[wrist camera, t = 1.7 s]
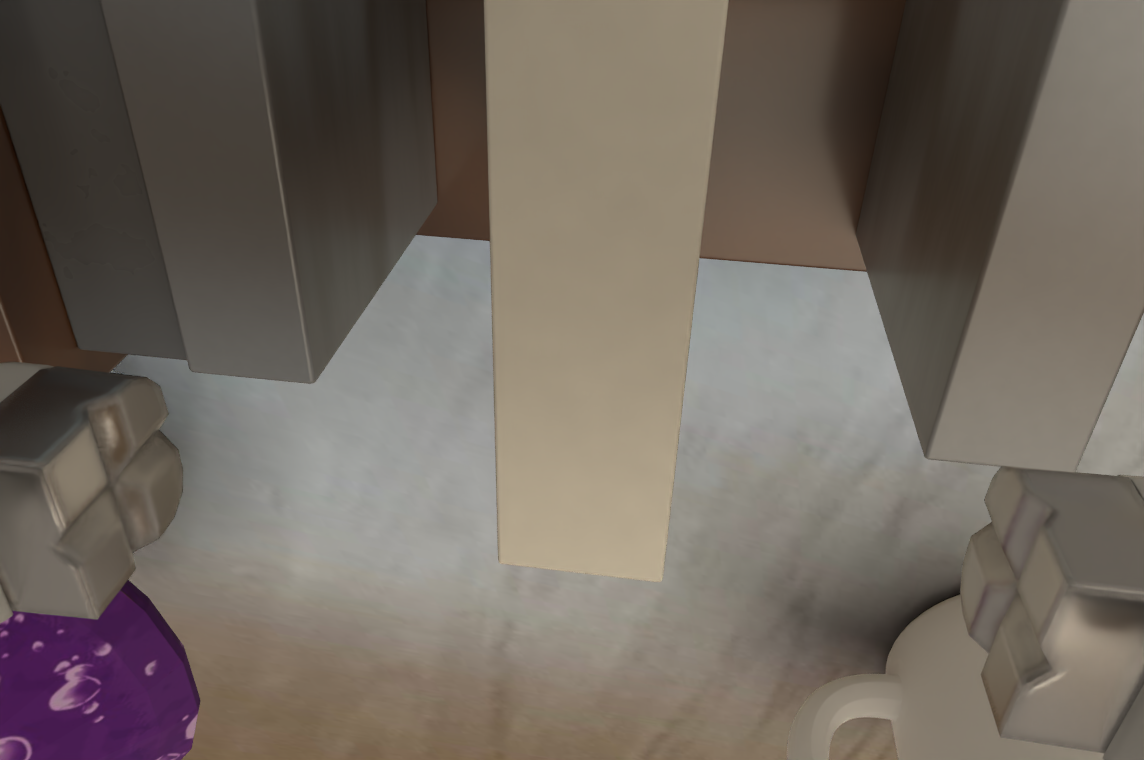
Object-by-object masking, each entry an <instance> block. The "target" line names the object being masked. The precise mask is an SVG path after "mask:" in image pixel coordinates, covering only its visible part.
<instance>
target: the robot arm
mask: <svg viewBox="0 0 1144 760" xmlns="http://www.w3.org/2000/svg"><path fill="white" fill-rule="evenodd" d="M168 414H169V413H168V410H167V406H166V403H165V400H164V397H163V393H162V390H161V387H160V386H159V385H158V384H156V383H155V382H153V381H152V380H150V379H149V378H147V377H140V376H132V375H124V374H116V373H108V372H100V371H92V370H84V369H76V368H68V367H60V366H56V367H53V366H49V365H42V364H32V363H22V362H4V363H0V623H2V622H4V621H5V620H7V619H8V618H10V617H11V616H13V612H12V611H19V612H29V613H38V614H48V615H58V616H68V617H78V618H88V619H98V618H99V617H100V616H101V614H102V613H103V612H104V610H105V609H106V608H107V606H108V605H109V604H110V602H111V601H112V600H113V599H114V597H115V596H116V595H117V593H118V592H119V591H120V589H121V588H122V587H123V586H124V584H125V583H126V582H127V580H128V579H129V578H130V576H131V575H132V574H133V573H134V571H135V570H136V568H135V562H134V555H133V552H134V551H136V550H138V549H140V548H142V547H144V546H146V545H147V544H149V543H151V542H153V541H155V540H157V539H159V538H160V537H161V536H162V534H163V533H164V531H165V530H166V529H167V527H168V526H169V524H170V523H171V522H172V520H173V519H174V517H175V514H176V511H177V508H178V504H179V501H180V498H181V495H182V492H183V468H182V463H181V459H180V455H179V451H178V449H177V448H176V447H175V446H174V445H173V444H172V443H171V442H170V441H169V440H168V439H167V438H166V436H165V435H164V434H163V433H162V432H161V431H160V430H159V429H160V428H161V426H162V424H163V423H164V421H165V419H166V418H167V416H168ZM984 501H985V504H986V507H987V509H988V512H989V515H990V517H991V520H992V522H991V523H990V524H988V525H987V526H985V527H984V528H982V529H981V530H979V531H978V532H977V533H975V534H974V535H972V536H971V538H970V541H969V544H968V547H967V551H966V554H965V557H964V560H963V563H962V574H961V586H960V596H961V604H962V613H963V617H964V620H965V624H966V627H967V631H968V635H969V636H970V637H971V638H972V639H973V640H974V641H976V642H977V643H978V644H979V645H980V646H981V647H982V648H983V649H984V650H985V651H986V652H988V653H989V654H988V657H987V659H986V662H985V664H984V667H983V670H982V672H981V678H982V681H983V684H984V687H985V690H986V694H987V697H988V700H989V703H990V706H991V710H992V713H993V716H994V719H995V722H996V726H997V729H998V732H999V735H1000V737H1002V738H1008V739H1015V740H1021V741H1028V742H1034V743H1040V744H1047V745H1053V746H1060V747H1066V748H1072V749H1079V750H1085V751H1092V752H1098V753H1104V755H1103V757H1102V758H1103V759H1104V760H1144V477H1142V476H1128V475H1118V476H1110V475H1099V474H1089V473H1078V472H1067V471H1056V470H1045V469H1034V468H1023V467H1012V466H1001V467H1000V469H999V470H998V471H997V473H996V474H995V475H994V477H993V478H992V480H991V483H990V485H989V488H988V491H987V493H986V496H985V499H984Z"/></svg>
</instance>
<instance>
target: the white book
mask: <svg viewBox="0 0 1144 760" xmlns="http://www.w3.org/2000/svg"><path fill="white" fill-rule="evenodd" d="M728 2H729V0H484V26H485V65H486V104H487V143H488V182H489V221H490V260H491V299H492V338H493V377H494V416H495V455H496V494H497V533H498V560H499V563H501V564H508V565H517V566H525V567H534V568H542V569H551V570H559V571H568V572H577V573H585V574H594V575H602V576H611V577H619V578H628V579H636V580H645V581H653V582H661V581H662V579H663V572H664V563H665V555H666V546H667V537H668V528H669V520H670V511H671V502H672V493H673V485H674V476H675V467H676V458H677V450H678V441H679V432H680V423H681V414H682V406H683V397H684V388H685V379H686V371H687V362H688V353H689V344H690V336H691V327H692V318H693V309H694V300H695V292H696V283H697V274H698V265H699V257H700V248H701V239H702V230H703V222H704V213H705V204H706V195H707V186H708V178H709V169H710V160H711V151H712V143H713V134H714V125H715V116H716V108H717V99H718V90H719V81H720V73H721V64H722V55H723V46H724V37H725V29H726V20H727V11H728Z"/></svg>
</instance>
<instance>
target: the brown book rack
mask: <svg viewBox="0 0 1144 760" xmlns="http://www.w3.org/2000/svg"><path fill="white" fill-rule="evenodd" d="M415 235H425V236H437V237H450V238H462V239H474V240H486V241H490V221H489V182H488V143H487V104H486V65H485V26H484V0H0V363H4V362H22V363H32V364H42V365H49V366H53V367H56V366H60V367H68V368H76V369H84V370H92V371H100V372H108V373H109V372H110V371H112V370H113V369H114V368H115V367H116V366H117V365H118V364H119V363H120V362H121V361H122V360H123V359H124V358H125V357H126V356H127V355H128V354H131V355H141V356H151V357H162V358H172V359H182V360H187V361H188V365H189V369H190V370H191V371H192V372H198V373H208V374H218V375H228V376H238V377H248V378H258V379H268V380H278V381H288V382H298V383H308V384H311V383H314V382H316V380H317V379H318V377H319V376H320V374H321V373H322V371H323V370H324V369H325V367H326V366H327V364H328V363H329V361H330V360H331V358H332V357H333V355H334V354H335V352H336V351H337V349H338V348H339V347H340V345H341V344H342V342H343V341H344V339H345V338H346V336H347V335H348V333H349V332H350V330H351V329H352V327H353V326H354V325H355V323H356V322H357V320H358V319H359V317H360V316H361V314H362V313H363V311H364V310H365V308H366V307H367V305H368V304H369V303H370V301H371V300H372V298H373V297H374V295H375V294H376V292H377V291H378V289H379V288H380V286H381V285H382V283H383V282H384V281H385V279H386V278H387V276H388V275H389V273H390V272H391V270H392V269H393V267H394V266H395V264H396V263H397V261H398V260H399V259H400V257H401V256H402V254H403V253H404V251H405V250H406V248H407V247H408V245H409V244H410V242H411V241H412V239H413V238H414V237H415ZM699 258H706V259H718V260H730V261H743V262H755V263H767V264H779V265H791V266H804V267H816V268H828V269H840V270H853V271H865V272H867V273H868V276H869V279H870V283H871V286H872V289H873V292H874V296H875V299H876V302H877V305H878V308H879V312H880V315H881V318H882V321H883V325H884V328H885V331H886V334H887V337H888V341H889V344H890V347H891V350H892V353H893V357H894V360H895V363H896V366H897V370H898V373H899V376H900V379H901V382H902V386H903V389H904V392H905V395H906V399H907V402H908V405H909V408H910V411H911V415H912V418H913V421H914V424H915V427H916V431H917V434H918V437H919V440H920V444H921V447H922V450H923V453H924V456H925V458H927V459H931V460H941V461H950V462H960V463H970V464H980V465H990V466H1000V467H1001V466H1012V467H1023V468H1034V469H1045V470H1056V471H1067V472H1076V470H1077V467H1078V465H1079V463H1080V460H1081V458H1082V456H1083V453H1084V451H1085V449H1086V446H1087V444H1088V442H1089V439H1090V437H1091V435H1092V432H1093V430H1094V428H1095V425H1096V423H1097V421H1098V418H1099V416H1100V413H1101V411H1102V409H1103V406H1104V404H1105V402H1106V399H1107V397H1108V395H1109V392H1110V390H1111V388H1112V385H1113V383H1114V381H1115V378H1116V376H1117V374H1118V371H1119V369H1120V367H1121V364H1122V362H1123V360H1124V357H1125V355H1126V353H1127V350H1128V348H1129V346H1130V343H1131V341H1132V338H1133V336H1134V334H1135V331H1136V329H1137V327H1138V324H1139V322H1140V320H1141V317H1142V315H1143V313H1144V0H729V2H728V11H727V20H726V29H725V37H724V46H723V55H722V64H721V73H720V81H719V90H718V99H717V108H716V116H715V125H714V134H713V143H712V151H711V160H710V169H709V178H708V186H707V195H706V204H705V213H704V222H703V230H702V239H701V248H700V257H699Z"/></svg>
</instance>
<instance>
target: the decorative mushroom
mask: <svg viewBox="0 0 1144 760" xmlns="http://www.w3.org/2000/svg"><path fill="white" fill-rule="evenodd" d="M12 612H13V616H11V617H10V618H8V619H7V620H5V621H4V622H2V623H0V760H181V759H182V758H183V757H184V756H185V755H186V754H187V753H188V752H189V751H190V750H191V748H192V743H193V738H194V732H195V727H196V722H197V716H198V711H199V705H200V698H199V694H198V691H197V687H196V684H195V681H194V678H193V675H192V671H191V668H190V665H189V662H188V659H187V655H186V652H185V649H184V646H183V644H182V643H181V642H180V640H179V639H178V638H177V636H176V635H175V633H174V632H173V631H172V629H171V628H170V627H169V625H168V624H167V622H166V621H165V620H164V618H163V617H162V616H161V614H160V613H159V611H158V610H157V609H156V607H155V606H154V605H153V603H152V602H151V600H150V599H149V598H148V597H147V596H146V595H145V594H144V593H142V592H141V591H140V590H139V589H138V588H137V587H136V586H134V585H133V584H132V583H131V582H130V581H129V580H127V582H126V583H125V584H124V586H123V587H122V588H121V589H120V591H119V592H118V593H117V595H116V596H115V597H114V599H113V600H112V601H111V602H110V604H109V605H108V606H107V608H106V609H105V610H104V612H103V613H102V614H101V616H100V617H99V618H98V619H88V618H78V617H68V616H58V615H48V614H38V613H29V612H19V611H12Z"/></svg>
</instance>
